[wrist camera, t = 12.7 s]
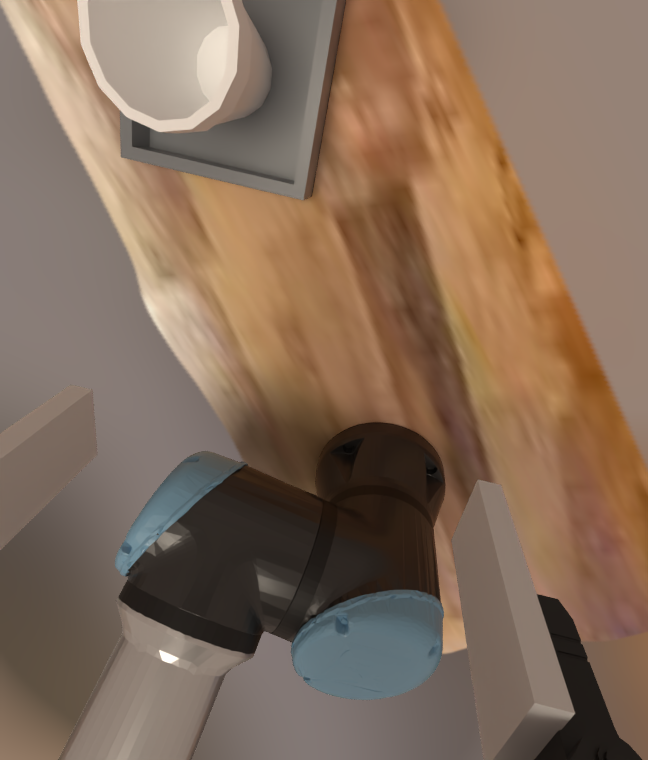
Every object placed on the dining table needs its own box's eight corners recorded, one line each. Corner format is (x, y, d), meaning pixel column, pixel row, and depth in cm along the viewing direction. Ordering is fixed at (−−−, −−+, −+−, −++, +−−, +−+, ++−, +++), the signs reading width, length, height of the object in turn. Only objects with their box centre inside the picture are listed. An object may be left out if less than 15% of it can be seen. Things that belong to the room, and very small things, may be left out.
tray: (311, 196, 40) (303, 200, 37) (144, 156, 41) (120, 157, 37) (351, -32, 33) (345, -55, 29) (145, -77, 33) (115, -103, 30)
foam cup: (168, 109, 38) (68, 90, 27) (193, -24, 34) (87, -115, 22) (270, 156, 38) (215, 157, 27) (308, 31, 34) (262, -30, 23)
